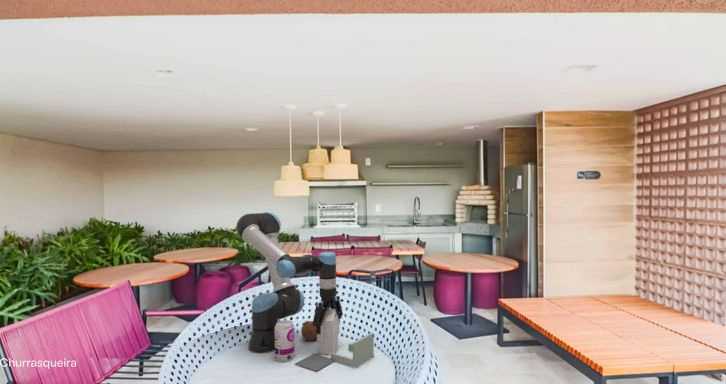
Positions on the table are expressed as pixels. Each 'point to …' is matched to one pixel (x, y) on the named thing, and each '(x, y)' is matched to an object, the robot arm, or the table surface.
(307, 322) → the onion
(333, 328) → the milk carton
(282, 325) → the supplement can
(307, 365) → the mat
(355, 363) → the rack
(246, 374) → the table surface
